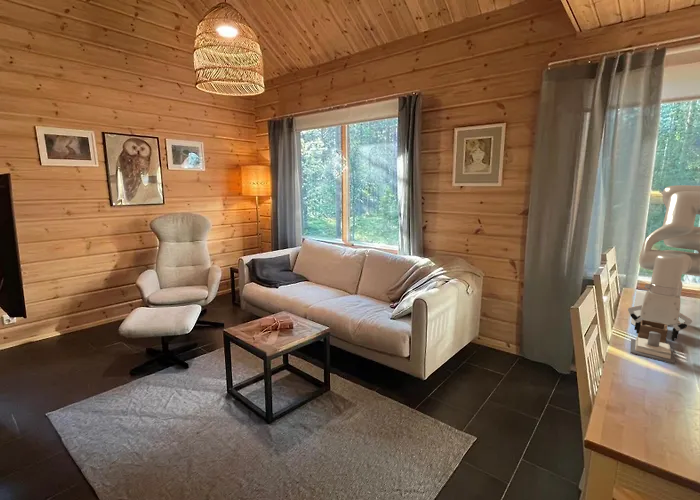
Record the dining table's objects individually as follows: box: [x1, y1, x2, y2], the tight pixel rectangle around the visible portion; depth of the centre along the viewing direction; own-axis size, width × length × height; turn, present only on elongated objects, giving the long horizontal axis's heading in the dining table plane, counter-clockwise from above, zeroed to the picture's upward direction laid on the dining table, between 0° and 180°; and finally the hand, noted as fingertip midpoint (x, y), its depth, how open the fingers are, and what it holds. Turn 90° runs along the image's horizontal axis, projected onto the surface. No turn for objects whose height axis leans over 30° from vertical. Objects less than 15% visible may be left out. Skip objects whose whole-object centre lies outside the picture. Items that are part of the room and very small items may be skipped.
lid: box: [635, 331, 671, 359], centre depth 129 cm, size 9×9×6 cm
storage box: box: [637, 320, 668, 343], centre depth 139 cm, size 8×8×6 cm
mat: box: [629, 338, 676, 365], centre depth 130 cm, size 14×12×1 cm
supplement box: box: [630, 290, 669, 327], centre depth 150 cm, size 9×9×15 cm
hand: (654, 336), depth 129 cm, fingers open, 9 cm apart
